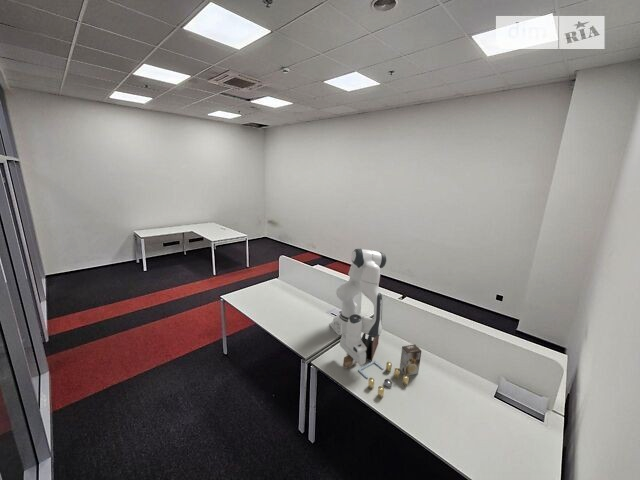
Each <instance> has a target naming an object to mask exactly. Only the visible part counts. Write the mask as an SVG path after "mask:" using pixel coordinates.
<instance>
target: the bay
mask: <svg viewBox="0 0 640 480" xmlns="http://www.w3.org/2000/svg"><path fill="white" fill-rule="evenodd" d="M374 364H375V365H376V366H377V367H379V368H380V369H381V370H384V367H383V366H382V365H380V364H379V363H378V362H376V360H374V361H373V360H372V361H370V362H369V363H368V364H366V365H364V366H363V367H361V368H359V369H358V370H357V371H358V372H359V373H360V374H361V375H362V376H363V378H364V377H365V379H367V380H369V376H367V375H366V373H364V372H363V370H365V369H366V368H369V367H370V366H372V365H374Z"/></svg>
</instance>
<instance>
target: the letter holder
mask: <svg viewBox="0 0 640 480" xmlns="http://www.w3.org/2000/svg"><path fill="white" fill-rule="evenodd" d="M366 335H367V334H365V333H363V334H362V336H361V340H362V342H363V343H364V345H365V346H366V348H367V350H366V351H365V352H366V361H369V362H373V359H374V356H375V354H376V351H377V348H378V346H379V339H380V336H378V337H375V338H373V337H371V336H369V335H368V336H367V338H366Z"/></svg>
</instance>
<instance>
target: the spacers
mask: <svg viewBox="0 0 640 480" xmlns="http://www.w3.org/2000/svg"><path fill="white" fill-rule="evenodd" d="M392 366H393V365H392V362H391V361H387V362H386V366H385V372H386V373H387V374H388V373H390V374H391V372H392ZM393 373H394V374H393V378H394V379H395V380H399V379H400V373H401V370H400V368H398V367H396V368H394V371H393ZM409 378H410V375H404V374H403V375H402V382H401V385H403V386H405V387H407V386H408V385H409ZM374 385H375V379H374V378H373V377H368V383H367V388H368V389H369V390H374V388H375V387H374ZM384 392H385V387H383V386H382V385H379V386H378V389H377V398H378V399H380V400H381V399H383V398H384Z"/></svg>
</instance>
